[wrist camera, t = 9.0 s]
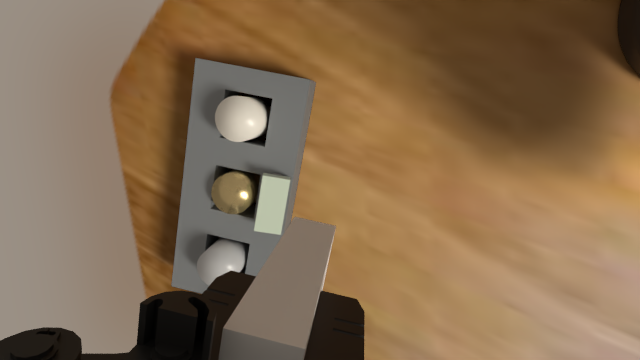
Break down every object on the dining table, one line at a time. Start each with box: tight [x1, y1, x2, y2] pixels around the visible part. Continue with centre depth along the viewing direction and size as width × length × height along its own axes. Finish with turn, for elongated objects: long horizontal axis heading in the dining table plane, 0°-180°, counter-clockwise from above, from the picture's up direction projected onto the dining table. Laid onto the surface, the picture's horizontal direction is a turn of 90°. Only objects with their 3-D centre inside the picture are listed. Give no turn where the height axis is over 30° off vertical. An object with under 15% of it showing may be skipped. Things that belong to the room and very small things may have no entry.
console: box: [172, 58, 316, 294], centre depth 41 cm, size 26×12×4 cm, turn 169°
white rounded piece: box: [215, 96, 271, 142], centre depth 37 cm, size 4×4×5 cm
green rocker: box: [254, 173, 290, 235], centre depth 37 cm, size 6×3×2 cm, turn 169°
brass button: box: [211, 169, 260, 214], centre depth 40 cm, size 4×4×5 cm
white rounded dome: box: [197, 237, 250, 285], centre depth 41 cm, size 4×4×5 cm
